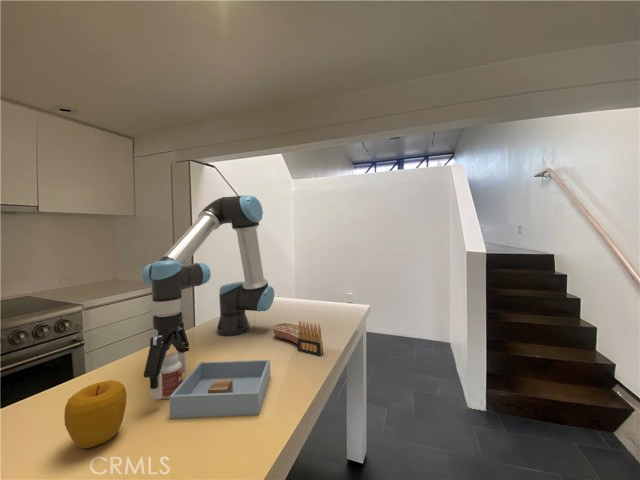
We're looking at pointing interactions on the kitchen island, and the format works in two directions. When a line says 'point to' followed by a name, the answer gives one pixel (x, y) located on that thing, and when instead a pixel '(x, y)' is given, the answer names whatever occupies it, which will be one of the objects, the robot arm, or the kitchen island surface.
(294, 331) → the anatomical model
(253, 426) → the kitchen island surface
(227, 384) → the walnut cube
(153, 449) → the kitchen island surface
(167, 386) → the pill bottle
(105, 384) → the apple
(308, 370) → the kitchen island surface
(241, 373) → the tote
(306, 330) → the ammunition clip
